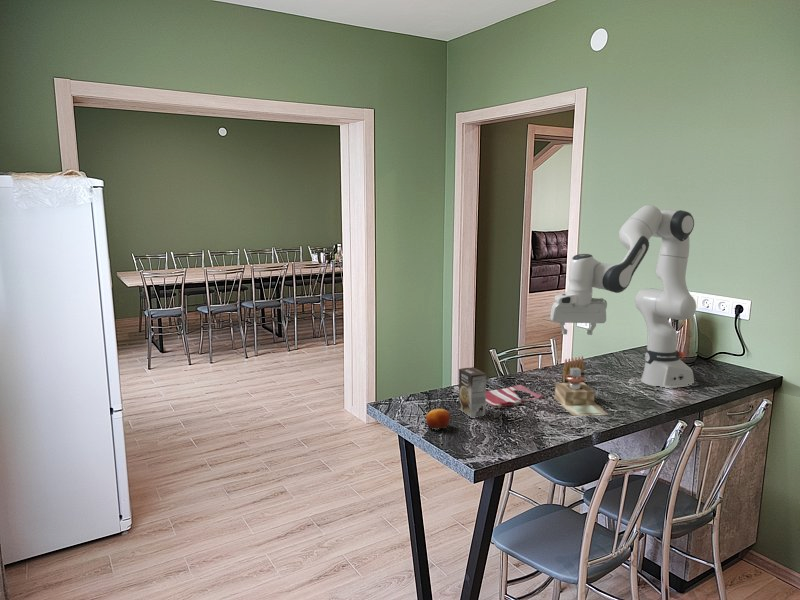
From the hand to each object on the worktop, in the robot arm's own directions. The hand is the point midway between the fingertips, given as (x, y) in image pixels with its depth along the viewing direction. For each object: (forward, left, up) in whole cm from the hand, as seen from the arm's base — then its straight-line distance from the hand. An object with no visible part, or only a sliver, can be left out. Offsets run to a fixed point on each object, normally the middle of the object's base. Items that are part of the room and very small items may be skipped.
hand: (577, 334), depth 224 cm
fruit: (+56, +22, -26) cm, 65 cm away
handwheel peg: (+1, +2, -25) cm, 25 cm away
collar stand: (+1, +7, -26) cm, 27 cm away
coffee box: (+42, +10, -26) cm, 50 cm away
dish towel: (+25, -5, -27) cm, 37 cm away
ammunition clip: (-6, -18, -26) cm, 33 cm away
